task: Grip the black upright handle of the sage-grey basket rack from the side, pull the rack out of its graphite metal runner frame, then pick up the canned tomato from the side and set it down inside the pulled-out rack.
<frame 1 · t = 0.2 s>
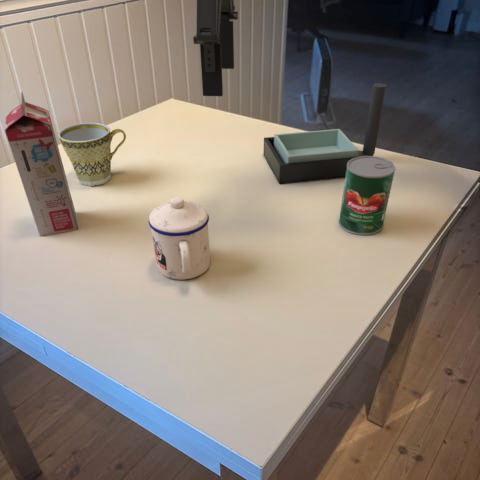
hand: (219, 81, 73), 24 cm above the table, tool pointing down, fingers open, 13 cm apart
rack: (331, 125, 102), point 8 cm above the table, slide at 0.5 cm
juice carton: (58, 224, 89), on the table
runner frame: (310, 165, 107), on the table
canned tomato: (360, 224, 88), on the table
teacup with lid: (185, 270, 78), on the table
ceramic cup: (102, 178, 103), on the table
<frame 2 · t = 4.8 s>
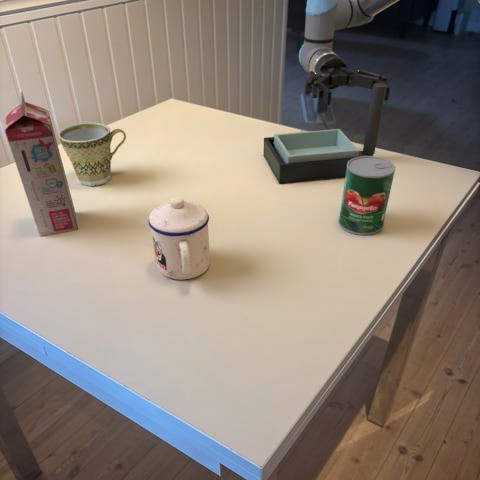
hand: (358, 96, 108), 11 cm above the table, tool horizontal, fingers open, 13 cm apart
nothing on the table moved.
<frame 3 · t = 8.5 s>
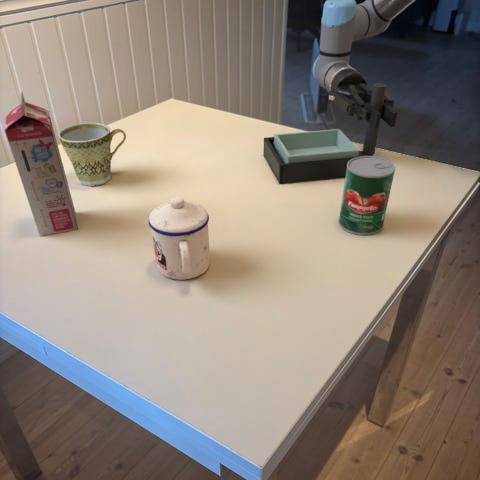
hand: (386, 120, 97), 10 cm above the table, tool horizontal, fingers closed on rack, 3 cm apart
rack: (331, 125, 102), point 8 cm above the table, slide at 0.5 cm, touching gripper
everything else where it was.
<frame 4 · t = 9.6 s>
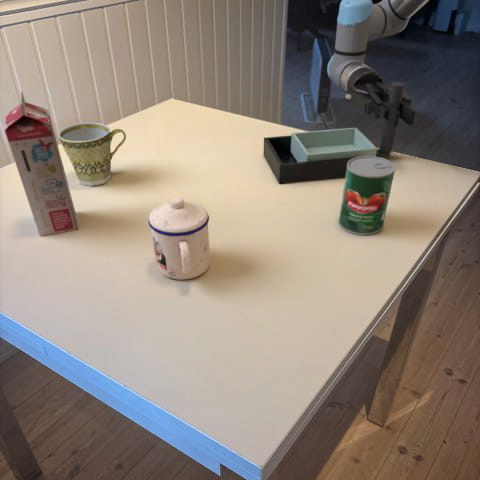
hand: (404, 119, 98), 10 cm above the table, tool horizontal, fingers closed on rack, 3 cm apart
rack: (349, 124, 102), point 8 cm above the table, slide at 4.4 cm, touching gripper
everything else where it was.
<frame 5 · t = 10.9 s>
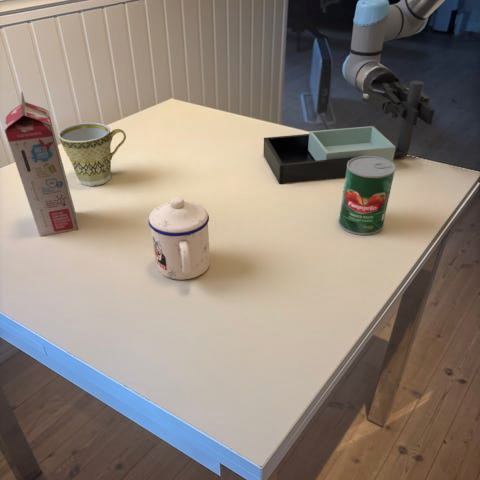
hand: (423, 117, 98), 10 cm above the table, tool horizontal, fingers closed on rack, 3 cm apart
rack: (367, 122, 103), point 8 cm above the table, slide at 8.5 cm, touching gripper
everything else where it was.
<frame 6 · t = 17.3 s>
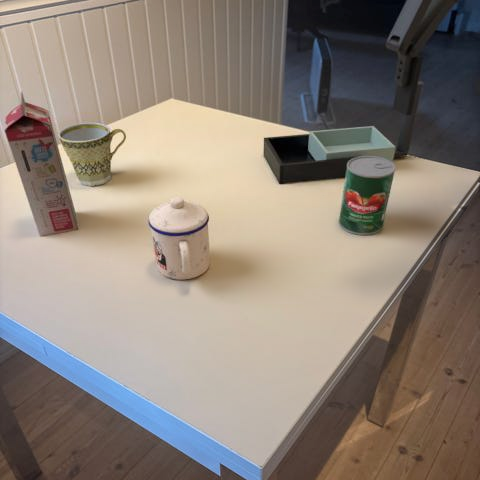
hand: (443, 103, 64), 24 cm above the table, tool pointing down, fingers open, 13 cm apart
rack: (367, 122, 103), point 8 cm above the table, slide at 8.5 cm
everything else where it was.
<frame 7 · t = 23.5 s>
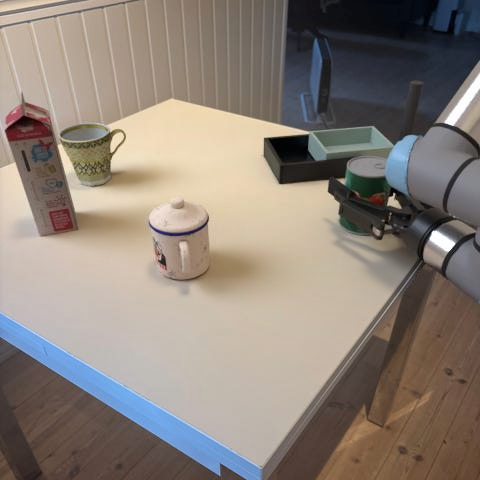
hand: (350, 179, 87), 6 cm above the table, tool horizontal, fingers closed on canned tomato, 8 cm apart
canned tomato: (360, 224, 88), on the table, touching gripper
everything else where it was.
when the fingers open (8 cm above the table, at t = 33.8 s): canned tomato stays where it is, resting on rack.
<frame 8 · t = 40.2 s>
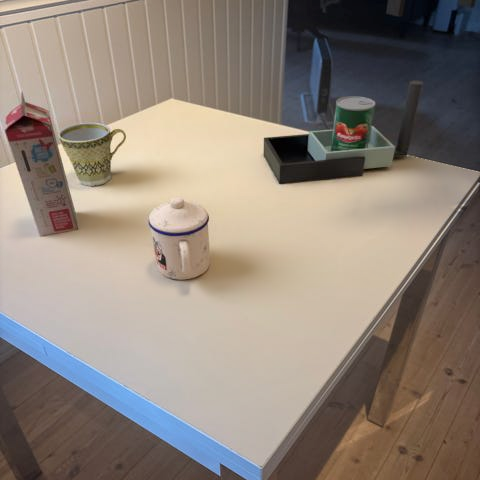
hand: (430, 10, 72), 32 cm above the table, tool pointing down, fingers open, 13 cm apart
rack: (367, 122, 103), point 8 cm above the table, slide at 8.4 cm, touching canned tomato
canned tomato: (348, 155, 107), point 1 cm above the table, touching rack
everything else where it was.
at the end: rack slide at 8.4 cm; canned tomato inside the target area on the runner frame (0.0 cm from its centre), point 1.4 cm above the runner frame's base; canned tomato tilted 0° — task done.
